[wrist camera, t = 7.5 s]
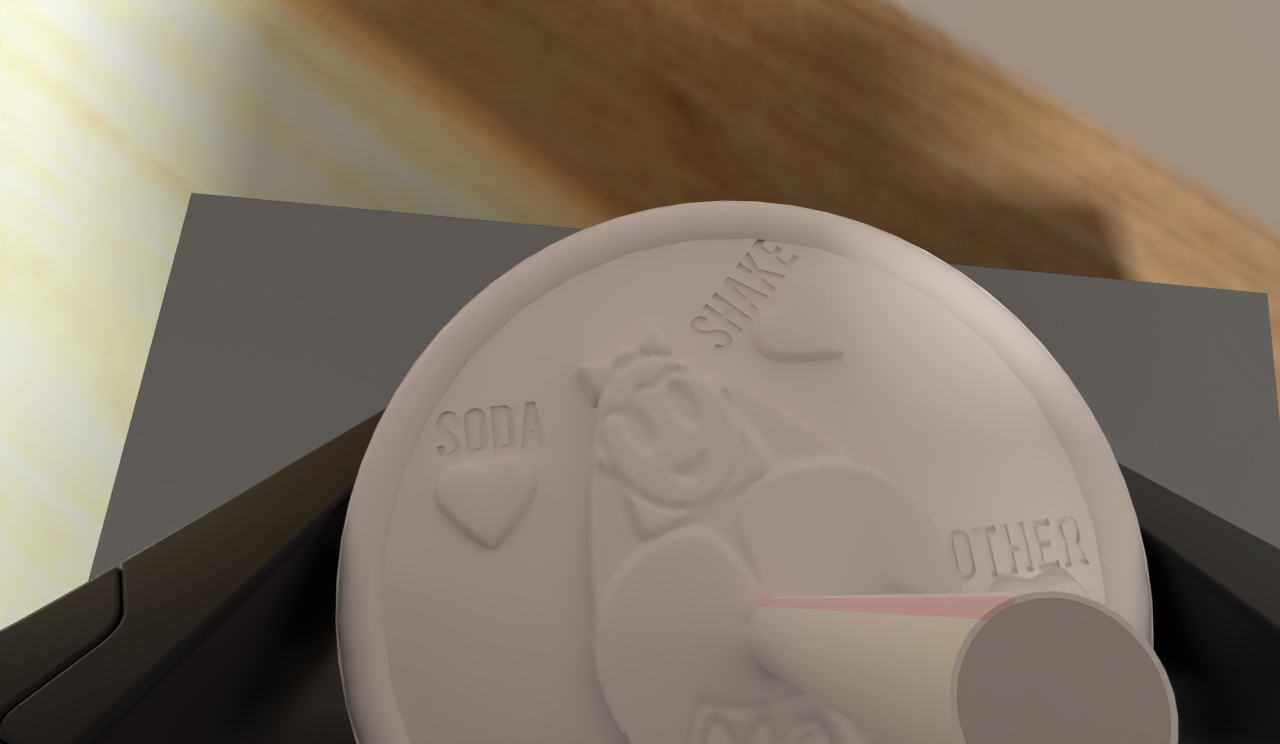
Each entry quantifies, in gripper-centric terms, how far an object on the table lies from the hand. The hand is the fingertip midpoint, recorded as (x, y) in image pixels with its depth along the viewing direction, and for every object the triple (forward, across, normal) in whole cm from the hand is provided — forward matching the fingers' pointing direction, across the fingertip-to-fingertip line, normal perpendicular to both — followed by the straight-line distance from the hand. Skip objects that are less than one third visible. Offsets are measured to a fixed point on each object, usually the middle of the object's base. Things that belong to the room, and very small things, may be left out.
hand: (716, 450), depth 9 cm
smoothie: (+4, 0, +6) cm, 7 cm away
